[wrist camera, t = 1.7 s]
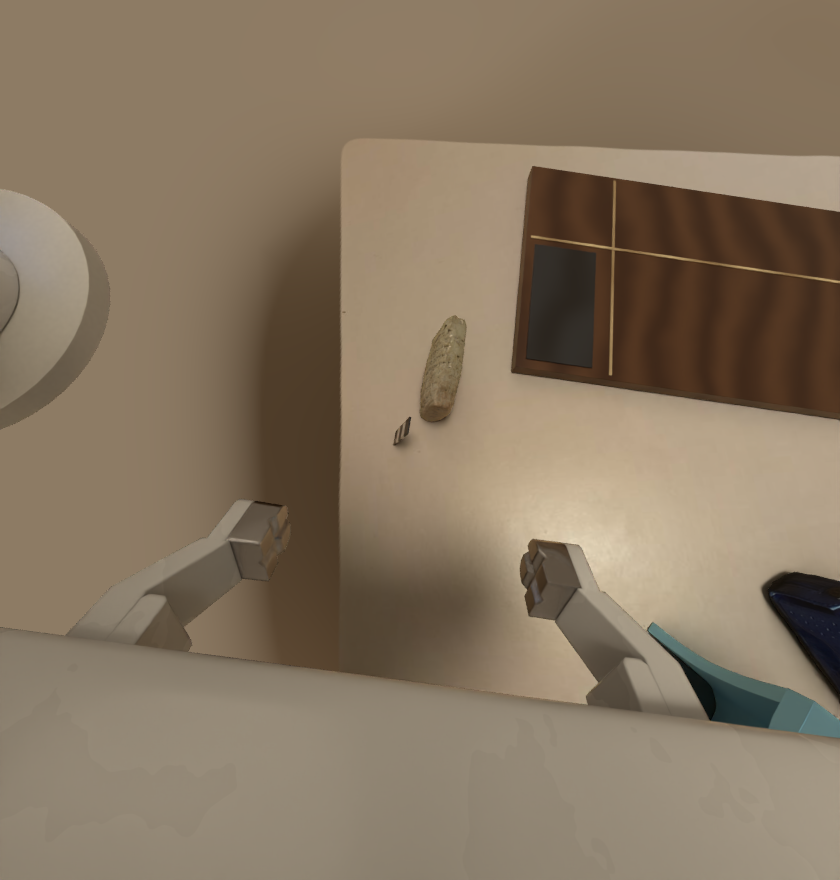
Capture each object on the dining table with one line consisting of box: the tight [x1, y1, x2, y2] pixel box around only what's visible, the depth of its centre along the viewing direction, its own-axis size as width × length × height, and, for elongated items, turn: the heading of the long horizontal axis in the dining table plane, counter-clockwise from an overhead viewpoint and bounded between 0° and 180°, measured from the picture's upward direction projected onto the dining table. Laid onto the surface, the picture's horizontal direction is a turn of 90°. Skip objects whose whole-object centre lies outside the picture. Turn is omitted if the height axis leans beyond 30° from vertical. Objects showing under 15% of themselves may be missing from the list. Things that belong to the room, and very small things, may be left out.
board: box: [511, 166, 840, 419], centre depth 37 cm, size 42×26×2 cm, turn 82°
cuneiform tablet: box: [394, 316, 467, 445], centre depth 31 cm, size 7×4×12 cm
